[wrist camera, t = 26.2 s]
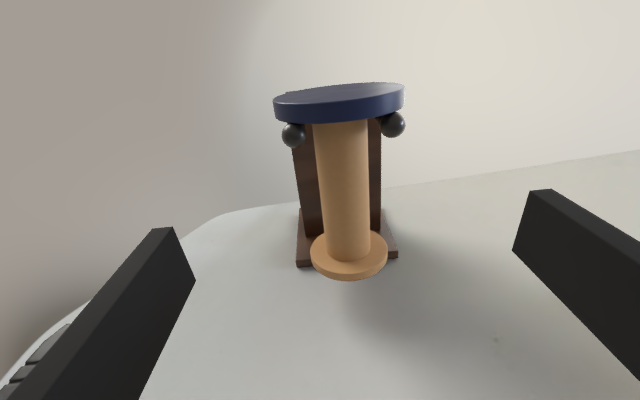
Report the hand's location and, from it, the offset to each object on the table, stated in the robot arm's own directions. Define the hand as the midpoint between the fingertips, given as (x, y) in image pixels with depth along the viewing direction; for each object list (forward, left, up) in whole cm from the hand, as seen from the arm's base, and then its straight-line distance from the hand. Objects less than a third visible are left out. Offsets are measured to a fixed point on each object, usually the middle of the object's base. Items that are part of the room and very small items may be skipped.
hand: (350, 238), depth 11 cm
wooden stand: (-8, +15, -14) cm, 22 cm away
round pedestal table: (-5, +10, -11) cm, 16 cm away
